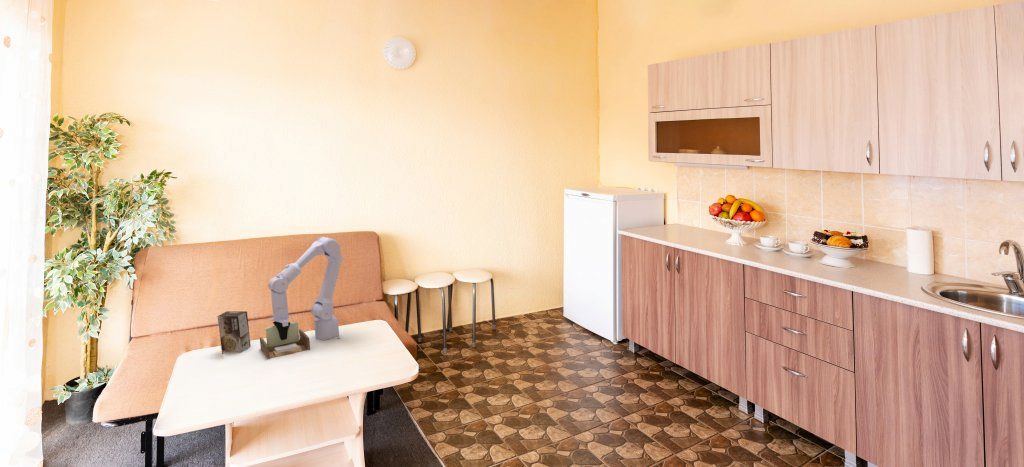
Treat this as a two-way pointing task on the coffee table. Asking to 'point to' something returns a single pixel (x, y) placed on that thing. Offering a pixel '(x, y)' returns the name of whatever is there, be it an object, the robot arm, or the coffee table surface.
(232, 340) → the coffee box
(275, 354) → the offcut lower
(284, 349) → the offcut upper
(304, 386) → the coffee table surface
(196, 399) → the coffee table surface
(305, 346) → the rack
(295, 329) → the pale green long block
